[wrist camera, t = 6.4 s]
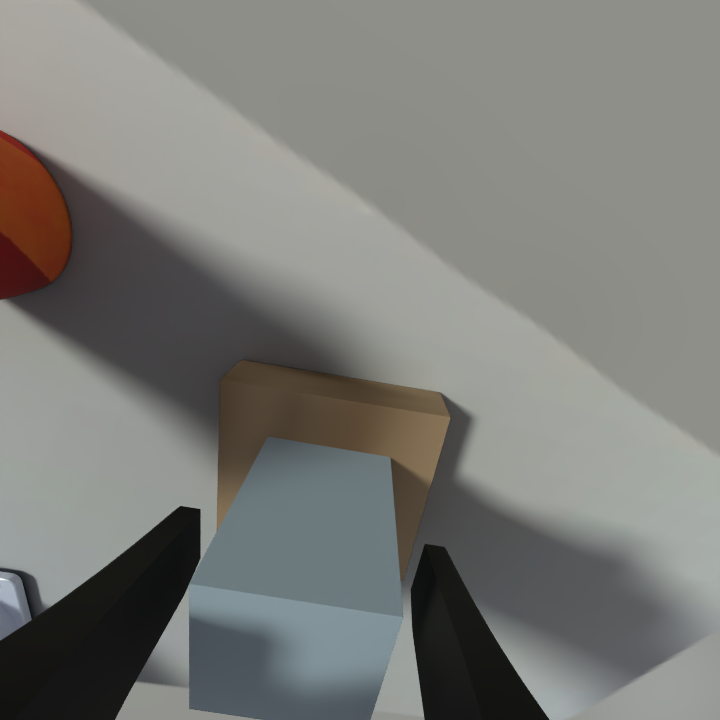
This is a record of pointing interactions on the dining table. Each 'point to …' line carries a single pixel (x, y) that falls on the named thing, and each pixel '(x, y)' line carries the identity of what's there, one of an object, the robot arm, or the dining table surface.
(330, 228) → the dining table surface
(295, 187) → the dining table surface
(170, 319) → the dining table surface
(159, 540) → the robot arm
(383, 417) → the base
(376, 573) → the block
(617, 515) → the dining table surface
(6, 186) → the paper cup
